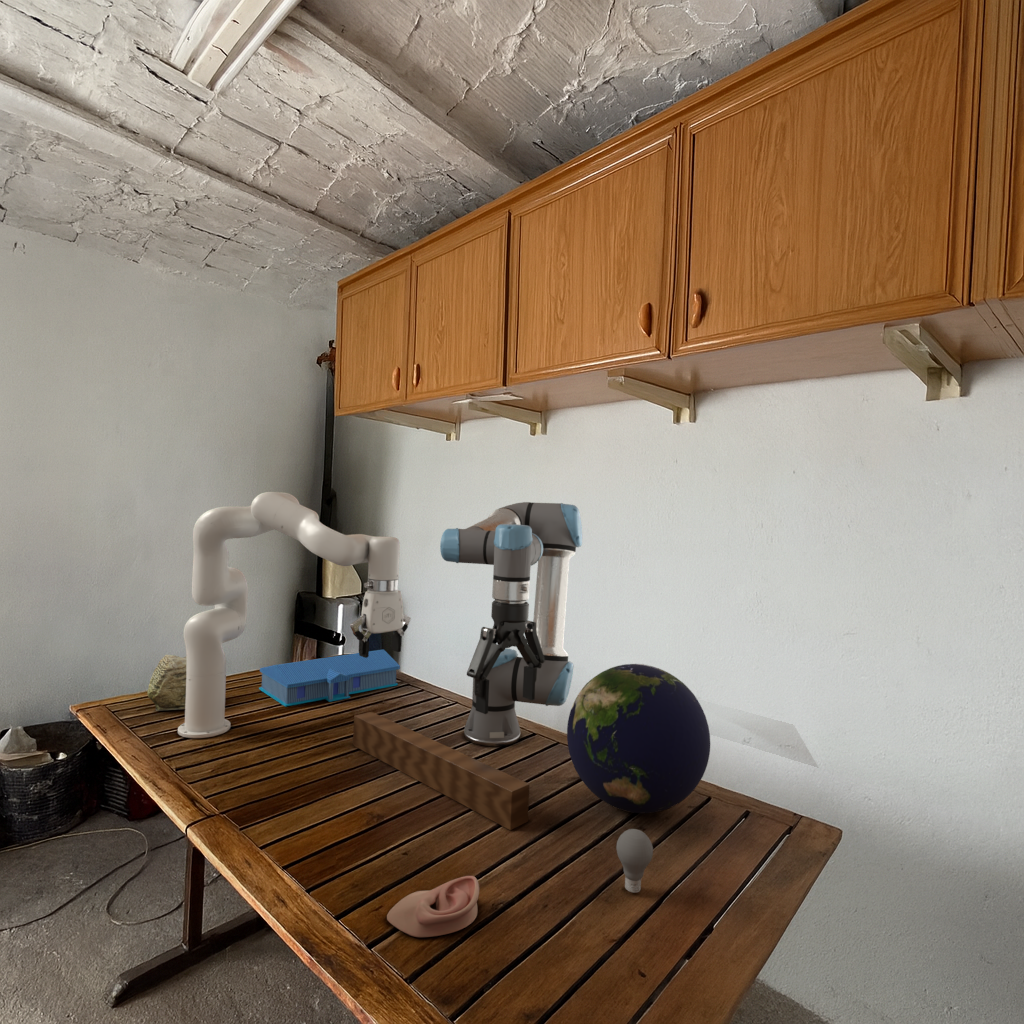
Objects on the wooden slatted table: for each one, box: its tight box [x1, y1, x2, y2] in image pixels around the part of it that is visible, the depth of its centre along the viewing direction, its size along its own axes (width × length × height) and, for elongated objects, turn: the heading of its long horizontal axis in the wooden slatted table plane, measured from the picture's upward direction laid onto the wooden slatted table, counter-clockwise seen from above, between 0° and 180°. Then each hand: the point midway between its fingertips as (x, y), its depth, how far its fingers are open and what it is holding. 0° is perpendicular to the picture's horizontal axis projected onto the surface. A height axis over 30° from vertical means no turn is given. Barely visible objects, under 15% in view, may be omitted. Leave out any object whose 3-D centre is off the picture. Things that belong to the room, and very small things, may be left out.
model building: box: [258, 649, 401, 707], centre depth 208 cm, size 39×24×10 cm, turn 132°
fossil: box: [147, 654, 187, 712], centre depth 185 cm, size 9×18×15 cm, turn 132°
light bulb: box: [615, 828, 654, 894], centre depth 106 cm, size 6×6×10 cm
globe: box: [566, 663, 711, 814], centre depth 135 cm, size 30×30×30 cm
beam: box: [352, 711, 530, 831], centre depth 144 cm, size 56×5×8 cm, turn 47°
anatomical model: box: [386, 875, 480, 938], centre depth 98 cm, size 13×4×12 cm
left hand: (380, 653), depth 159 cm, fingers open, 9 cm apart
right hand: (505, 705), depth 129 cm, fingers open, 13 cm apart
